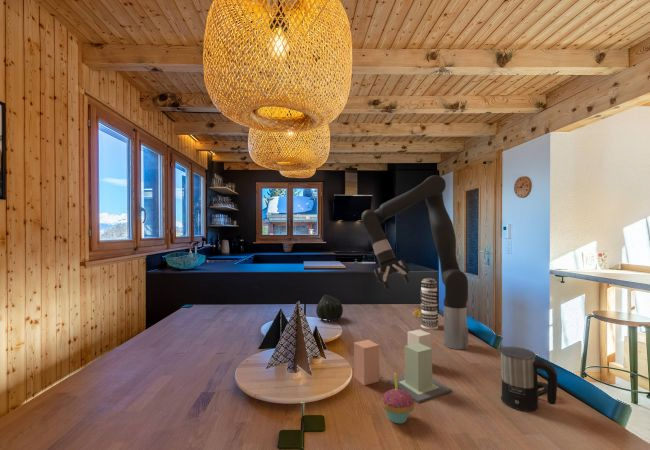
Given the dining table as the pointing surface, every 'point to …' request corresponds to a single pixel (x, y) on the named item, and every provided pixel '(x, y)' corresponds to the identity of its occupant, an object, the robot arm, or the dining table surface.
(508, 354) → the milk frother
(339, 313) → the squash
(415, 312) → the bread roll
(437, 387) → the slate mat
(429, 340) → the cream block
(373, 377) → the terracotta block
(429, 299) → the decorative candle
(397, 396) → the cupcake
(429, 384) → the sage block
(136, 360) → the dining table surface
